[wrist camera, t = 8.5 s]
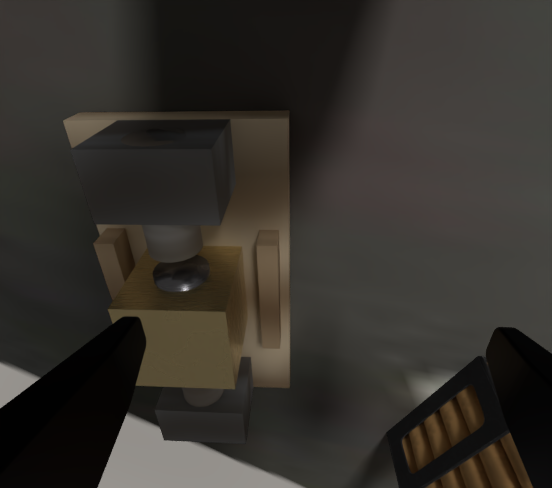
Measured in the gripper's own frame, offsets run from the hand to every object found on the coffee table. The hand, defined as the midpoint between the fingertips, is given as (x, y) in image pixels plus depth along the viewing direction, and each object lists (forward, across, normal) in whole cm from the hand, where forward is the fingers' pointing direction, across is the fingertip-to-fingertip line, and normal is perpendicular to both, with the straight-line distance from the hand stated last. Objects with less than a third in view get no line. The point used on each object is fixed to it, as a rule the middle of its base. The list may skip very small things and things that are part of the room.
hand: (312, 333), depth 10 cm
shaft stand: (+11, +6, +6) cm, 14 cm away
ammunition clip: (+11, -10, +18) cm, 23 cm away
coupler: (+9, +6, +6) cm, 13 cm away
